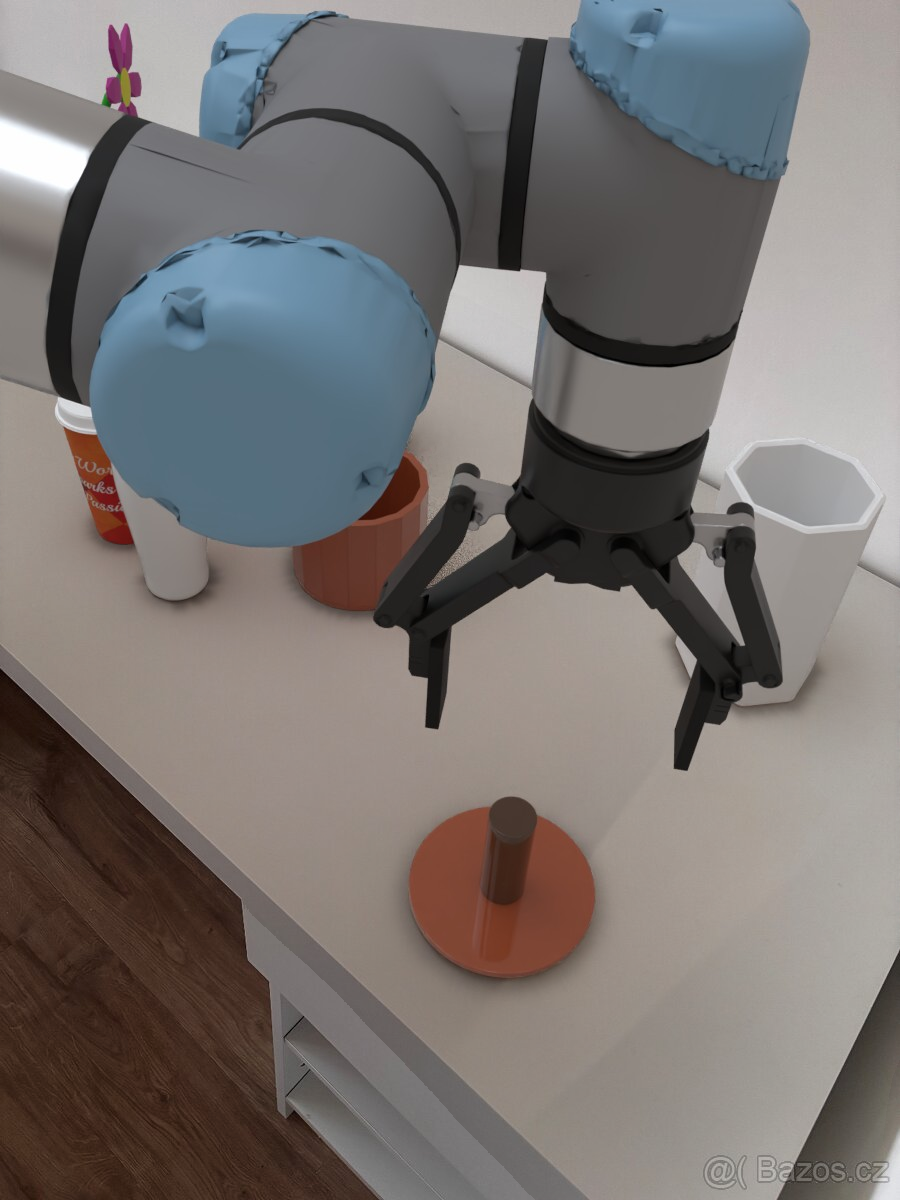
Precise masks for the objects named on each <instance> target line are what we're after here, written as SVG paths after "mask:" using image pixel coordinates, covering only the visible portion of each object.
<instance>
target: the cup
mask: <svg viewBox="0 0 900 1200" xmlns="http://www.w3.org/2000/svg"><path fill="white" fill-rule="evenodd" d="M886 500H887V496H886V494H885V493H884V492H883V490H882V489H881V488H880V486H879V485H878V484H877V482H876V481H875V479H874V478H873V476H872V475H871V473H870V472H869V471H868V469H867V468H866V466H865V465H864V464H863V462H862V461H861V460H860V459H859V458H857V457H856V456H852V455H850V454H848V453H845V452H842V451H840V450H838V449H835V448H833V447H830V446H827V445H825V444H822V443H820V442H817V441H815V440H812V439H811V438H807V437H792V438H776V439H775V438H774V439H760V440H752V441H749V442H748V443H747V444H746V445H745V446H744V447H743V448H742V449H741V451H739V453H738V454H737V455H736V456H735V458H734V459H733V460H732V461H731V462H730V463H729V464H728V465H727V467H726V468H725V470H724V474H723V477H722V482H721V483H720V487H719V491H718V494H717V497H716V501H715V504H714V508H713V512H712V513H713V514H726V513H727V510H728V508H729V507H730V506H731V505H732V504H734V503H737V502H745V503H748V504H750V505H751V506H752V507H753V509H754V520H755V538H756V551H755V557H754V559H755V563H756V566H757V569H758V572H759V576H760V579H761V582H762V585H763V589H764V592H765V595H766V598H767V602H768V605H769V608H770V611H771V615H772V618H773V621H774V624H775V628H776V631H777V634H778V638H779V641H780V648H781V660H782V675H783V682H782V684H781V685H780V686H778V687H776V688H764V687H762V686H760V685H759V684H758V682H750V683H746V684H743V685H742V686H743V696H742V698H741V699H740V700H739V701H737V702H734V703H733V704H735V705H737V706H741V707H748V706H749V707H750V706H757V705H758V706H760V705H767V704H777V703H788V702H792V701H794V699H795V697H796V696H797V694H798V693H799V691H800V689H801V688H802V687H803V685H804V683H805V682H806V680H807V678H808V677H809V675H810V673H812V670H813V668H814V666H815V664H816V661H817V659H818V656H819V654H820V652H821V649H822V647H823V645H824V643H825V640H826V639H827V636H828V633H829V631H830V629H831V627H832V624H833V622H834V620H835V617H836V616H837V613H838V610H839V609H840V606H841V604H842V601H843V599H844V597H845V595H846V592H847V590H848V589H849V586H850V583H851V581H852V579H853V576H854V574H855V571H856V570H857V567H858V565H859V562H860V560H861V558H862V555H863V553H864V551H865V548H866V546H867V544H868V542H869V540H870V537H871V536H872V533H873V530H874V528H875V526H876V524H877V521H878V519H879V517H880V514H881V511H882V510H883V507H884V505H885V503H886ZM692 581H693V583H694V584H695V585H696V587H697V588H698V589H699V591H700V592H701V593H702V595H703V596H704V597H705V599H706V600H707V601H708V603H709V604H710V605H711V607H712V608H713V609H714V611H715V612H716V613H717V615H718V616H719V617H720V619H721V620H722V621H723V623H724V624H725V625H726V627H727V628H728V629H729V631H730V632H731V633H732V635H733V636H734V637H735V639H736V640H737V641H738V643H739V644H740V646H744V645H745V643H744V641H743V638H742V635H741V632H740V629H739V626H738V623H737V620H736V617H735V614H734V611H733V608H732V605H731V602H730V599H729V596H728V593H727V590H726V586H725V582H724V567H720V568H719V567H716V566H715V565H714V564H713V561H712V560H711V559H709V558H708V556H707V554H706V550H705V548H704V547H703V546H702V549H701V553H700V556H699V559H698V562H697V567H696V570H695V573H694V576H693V580H692ZM675 646H676V648H677V651H678V653H679V655H680V658H681V660H682V662H683V664H684V666H685V669H686V672H687V674H688V676H689V679H691V677H692V674H693V671H694V668H695V665H696V661H697V659H696V658H695V657H694V655H693V654H692V653H691V652H690V650H689V649H688V648H687V647H686V645H685V644H684V643H683V641H682V640H681V639H680V638H679V636H678V635H677V634H676V638H675Z"/></svg>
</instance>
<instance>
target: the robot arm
mask: <svg viewBox="0 0 900 1200" xmlns="http://www.w3.org/2000/svg"><path fill="white" fill-rule="evenodd" d="M577 13H578V14H577V18H576V21H575V22H573V23H572V24H571V27H570V33H569V37H558V36H557V37H556V36H548V38H547V39H546V38H536V37H525V36H524V37H523V36H515V35H506V34H505V35H504V34H496V33H487V32H478V31H470V30H461V29H450V28H443V27H433V26H424V25H415V24H405V23H396V22H388V21H379V20H369V19H362V18H361V19H360V18H351V17H350V16H349V15H346V14H343V13H337V12H336V11H332V10H327V9H326V10H314V11H313V12H309V13H267V12H266V13H265V12H264V13H263V12H260V13H259V12H253V13H247V14H246V13H245V14H242V15H239V16H237V17H235V18H234V19H233V20H231V21H230V22H228V23H227V24H226V25H225V26H224V27H223V29H222V30H221V31H220V33H219V34H218V36H217V37H216V39H215V40H214V42H213V45H212V49H211V53H210V67H209V68H208V69H207V71H206V72H205V73H204V75H203V79H202V83H201V92H200V103H199V114H198V115H199V116H198V136H197V135H194V134H191V133H188V132H186V131H182V130H179V129H176V128H174V127H173V128H172V127H171V126H166V125H164V124H160V123H157V122H154V121H151V120H148V119H145V118H142V117H139V116H138V117H136V116H133V115H129V114H126V113H124V112H121V111H119V110H118V109H116V108H113V107H111V108H110V107H107V106H104V105H101V104H102V103H98V102H96V101H93V100H89V99H86V98H84V97H81V96H78V95H76V94H72V93H69V92H66V91H64V90H62V89H58V88H55V87H52V86H49V85H47V84H44V83H41V82H38V81H36V80H32V79H29V78H27V77H24V76H21V75H18V74H15V73H12V72H9V71H6V70H4V69H1V68H0V380H3V381H6V382H9V383H13V384H15V385H20V386H22V387H25V388H29V389H32V390H34V391H35V390H36V391H38V392H42V393H44V394H48V395H51V396H55V397H57V398H58V397H61V398H64V399H66V400H69V401H72V402H75V403H78V404H82V405H85V406H88V407H91V413H92V419H93V422H94V425H95V428H96V432H97V436H98V439H99V441H100V443H101V445H102V447H103V449H104V451H105V453H106V455H107V456H108V458H109V459H110V461H111V462H112V464H113V465H114V467H115V468H116V470H117V472H118V473H119V475H120V476H121V478H122V479H123V480H124V481H125V482H126V483H127V484H128V485H129V486H130V487H131V488H132V489H133V490H134V491H135V492H136V493H137V494H138V495H139V496H140V497H141V498H152V499H153V500H155V501H156V502H157V503H158V504H160V505H161V506H162V507H164V508H165V509H167V510H168V511H170V512H171V513H173V514H174V515H175V516H176V519H177V521H178V523H179V525H181V526H183V527H185V528H187V529H189V530H191V531H193V532H195V533H197V534H200V535H202V536H205V537H206V538H208V539H210V540H213V541H217V542H221V543H225V544H228V545H233V546H234V545H235V546H239V547H246V548H264V549H265V548H266V549H267V548H268V549H269V548H270V549H271V548H272V549H273V548H289V547H292V546H299V545H304V544H308V543H311V542H315V541H318V540H321V539H324V538H326V537H328V536H331V535H333V534H336V533H338V532H340V531H341V530H343V529H345V528H346V527H348V526H350V525H351V524H353V523H354V522H355V521H357V520H358V519H359V518H360V517H361V516H363V515H364V514H365V513H366V512H367V511H369V510H370V509H371V507H372V506H373V505H374V504H375V503H376V502H377V500H378V499H379V498H380V497H381V496H382V494H383V493H384V491H385V489H386V488H387V486H388V485H389V483H390V481H391V479H392V477H393V475H394V473H395V472H396V470H397V469H398V467H399V464H400V462H401V459H402V456H403V454H404V451H406V447H407V445H408V443H409V440H410V437H411V434H412V432H413V428H414V426H415V423H416V421H417V418H418V416H419V415H421V414H422V413H423V412H424V410H425V409H426V407H427V404H428V402H429V399H430V397H431V394H432V390H433V387H434V383H435V379H436V376H437V371H436V351H437V347H438V343H439V339H440V336H441V332H442V327H443V323H444V319H445V315H446V311H447V309H448V308H447V307H448V304H449V299H450V296H451V292H452V290H453V287H454V284H455V281H456V278H457V274H458V272H459V268H460V266H463V267H471V268H472V267H473V268H481V269H491V270H499V271H509V272H511V271H512V272H521V270H522V271H530V272H539V273H545V281H544V287H543V295H542V302H541V304H540V313H539V321H538V328H537V336H536V345H535V353H534V361H533V362H534V363H533V369H532V377H531V396H532V398H531V400H530V403H529V406H528V410H527V411H528V412H527V420H526V428H525V434H524V435H525V436H524V443H523V450H522V451H523V453H522V458H521V459H522V460H521V467H520V474H519V476H518V478H517V479H516V480H515V481H514V482H513V483H512V484H511V485H508V484H503V483H500V482H495V481H491V480H488V479H483V478H481V470H480V468H479V467H478V466H477V465H475V464H474V463H471V462H462V463H459V464H458V465H457V466H456V467H455V470H454V473H453V476H452V480H451V483H450V488H449V491H448V494H447V499H446V501H445V503H444V504H443V505H442V507H441V508H440V509H439V510H438V511H437V513H436V514H435V516H434V517H433V518H432V519H431V521H430V522H428V523H427V527H426V528H425V530H424V531H423V532H422V534H421V535H420V536H419V537H418V539H417V540H416V541H415V543H414V544H413V545H412V547H411V548H410V549H409V550H408V552H407V553H406V554H405V556H404V557H403V558H402V560H401V561H400V562H399V563H398V565H397V566H396V567H395V569H394V570H393V571H392V573H391V574H390V575H389V576H388V578H387V579H386V580H385V582H384V584H383V587H382V590H381V593H380V596H379V599H378V603H377V606H376V609H374V613H373V616H372V620H373V622H374V623H375V625H377V626H378V627H379V628H383V629H391V628H393V627H395V626H396V627H398V628H400V629H402V630H404V631H405V633H406V634H407V635H408V660H407V661H408V662H407V664H408V665H407V670H408V672H409V674H410V675H411V676H412V677H418V678H424V679H427V684H426V701H425V702H426V703H425V719H424V728H425V729H432V730H437V731H438V730H439V729H440V724H441V720H442V716H443V711H444V707H445V703H446V702H445V701H446V698H447V694H448V681H449V669H450V655H451V654H450V653H451V642H452V641H451V640H452V631H453V626H455V625H457V623H459V622H461V621H463V620H464V619H465V618H467V617H468V616H470V615H471V614H473V613H475V612H477V611H478V610H481V608H483V607H485V606H486V605H487V604H489V603H491V602H492V601H494V600H495V599H497V598H499V597H500V596H502V595H503V594H505V593H506V592H509V591H510V590H511V589H513V588H516V589H517V590H521V589H523V588H525V587H527V586H528V585H529V584H531V583H533V582H534V581H536V580H537V579H539V578H541V577H542V576H544V575H546V574H547V575H549V576H551V577H554V578H553V582H554V583H561V584H566V585H567V584H568V585H580V584H581V585H582V584H587V585H591V586H592V587H593V586H594V587H596V588H600V589H601V590H606V591H611V592H619V593H620V592H621V588H626V587H632V588H633V589H634V590H635V592H636V593H637V594H638V595H639V596H640V598H641V599H642V600H643V601H644V603H645V604H646V605H647V606H648V608H649V609H650V610H653V611H654V610H657V611H658V613H659V614H660V615H661V617H663V619H664V620H665V622H666V623H667V624H668V625H669V626H670V628H671V629H672V630H673V631H674V633H675V634H676V636H677V635H678V636H679V638H680V639H681V640H682V641H683V643H684V644H685V645H686V647H687V648H688V649H689V650H690V652H691V653H692V654H693V655H694V657H695V658H696V659H697V661H696V665H695V668H694V671H693V674H692V677H691V678H690V680H689V683H688V686H687V689H686V692H685V695H684V699H683V701H682V705H681V709H680V712H679V714H678V717H677V720H676V724H675V727H674V730H673V733H674V734H673V770H678V771H684V772H688V771H689V768H690V765H691V763H692V759H693V757H694V755H695V751H696V748H697V745H698V743H699V740H700V737H701V734H702V731H703V728H704V725H705V724H711V725H716V726H722V724H723V723H725V722H726V720H727V718H728V716H729V713H730V711H731V707H732V705H733V704H735V703H734V702H737V701H739V700H740V699H741V698H742V696H743V686H742V685H743V684H746V683H750V682H758V684H759V685H760V686H762V687H764V688H776V687H778V686H780V685H781V684H782V682H783V675H782V660H781V648H780V641H779V638H778V634H777V631H776V628H775V624H774V621H773V618H772V615H771V611H770V608H769V605H768V602H767V598H766V595H765V592H764V589H763V585H762V582H761V579H760V576H759V572H758V569H757V566H756V563H755V559H754V557H755V551H756V538H755V520H754V509H753V507H752V506H751V505H750V504H748V503H745V502H737V503H734V504H732V505H731V506H730V507H729V508H728V510H727V513H726V514H713V512H712V513H709V512H695V511H694V508H693V506H692V502H693V498H694V494H695V491H696V488H697V485H698V484H697V483H698V481H699V476H700V474H701V473H700V472H701V469H702V465H703V462H704V458H705V454H706V452H707V448H708V444H709V439H710V434H711V433H710V427H711V426H713V423H714V420H715V418H716V416H717V412H718V409H719V404H720V401H721V400H720V399H721V395H722V392H723V389H724V386H725V385H724V384H725V382H726V378H727V377H726V376H727V373H728V369H729V365H730V362H731V357H732V354H733V349H734V346H735V343H736V339H737V335H738V331H739V326H740V321H741V319H742V315H743V312H744V307H745V305H746V301H747V297H748V294H749V290H750V287H751V283H752V279H753V276H754V272H755V269H756V265H757V262H758V259H759V256H760V251H761V248H762V244H763V241H764V238H765V235H766V231H767V227H768V223H769V220H770V217H771V213H772V211H773V207H774V204H775V200H776V196H777V193H778V189H779V187H780V182H781V179H782V177H783V176H785V175H786V172H787V170H788V166H789V164H790V160H789V159H788V151H789V148H790V147H789V146H790V143H791V138H792V133H793V127H794V124H795V119H796V113H797V109H798V104H799V100H800V94H801V90H802V86H803V82H804V78H805V77H804V76H805V73H806V68H807V64H808V60H809V54H810V46H811V30H810V29H809V27H808V25H807V23H806V21H805V20H804V17H803V14H802V13H801V10H800V8H799V7H798V6H797V4H796V3H794V2H793V0H580V3H579V8H578V12H577ZM496 515H501V516H503V515H504V517H505V520H506V523H507V524H508V526H509V527H510V528H509V529H508V531H507V532H506V533H505V535H504V536H503V537H502V538H501V539H500V540H498V541H497V542H495V543H493V545H491V546H490V547H488V548H487V549H485V550H484V551H481V553H479V554H478V555H476V556H475V557H472V558H471V559H470V560H468V562H466V563H464V564H463V565H461V566H460V567H459V568H457V569H455V570H454V571H452V572H451V573H450V574H448V575H446V576H445V577H444V578H442V579H441V580H439V581H438V582H436V583H435V584H433V585H432V586H430V587H429V588H427V587H428V586H429V585H430V584H431V582H432V581H433V580H434V579H435V578H436V576H437V575H438V574H439V573H440V571H441V570H442V569H443V567H445V566H446V564H448V561H449V560H450V559H451V558H452V557H453V555H454V554H455V553H456V552H457V551H458V549H459V548H460V546H461V545H462V544H463V542H464V541H465V538H466V536H467V532H468V530H469V531H471V532H477V531H478V530H479V529H480V528H481V526H484V525H486V524H487V522H488V521H489V520H490V518H492V517H493V516H496ZM693 543H695V544H699V545H701V547H702V548H703V547H704V548H705V550H706V554H707V556H708V558H709V559H711V560H712V561H713V564H714V565H715V566H716V567H719V568H720V567H724V582H725V586H726V590H727V593H728V596H729V599H730V602H731V605H732V608H733V611H734V614H735V617H736V620H737V623H738V626H739V629H740V632H741V635H742V638H743V641H744V643H745V645H744V646H740V644H739V643H738V641H737V640H736V639H735V637H734V636H733V635H732V633H731V632H730V631H729V629H728V628H727V627H726V625H725V624H724V623H723V621H722V620H721V619H720V617H719V616H718V615H717V613H716V612H715V611H714V609H713V608H712V607H711V605H710V604H709V603H708V601H707V600H706V599H705V597H704V596H703V595H702V593H701V592H700V591H699V589H698V588H697V587H696V585H695V584H694V583H693V580H692V579H691V577H690V576H689V575H688V573H687V572H686V570H685V569H684V568H683V566H682V565H681V563H680V560H679V557H678V556H680V555H681V554H683V553H684V552H685V551H687V550H688V549H689V548H690V547H691V546H692V544H693Z"/></svg>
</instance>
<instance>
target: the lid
mask: <svg viewBox="0 0 900 1200" xmlns="http://www.w3.org/2000/svg"><path fill="white" fill-rule="evenodd" d="M424 838H425V839H423V841H422V842H421V843H420V846H419V847H418V849H417V850H416V853H415V855H414V857H413V859H412V863H411V866H410V869H409V875H408V876H409V877H408V898H409V899H408V900H409V905H410V909H411V912H412V916H413V918H414V921H415V922H416V923H415V924H416V925H417V927H418V929H419V930H420V932H421V933H422V935H423V936H424V938H425V939H426V940H427V942H429V944H430V945H431V946H432V948H433V949H435V950H436V951H437V952H438V953H439V954H440V955H441V956H442V957H444V958H446V959H447V960H448V961H450V962H451V963H453V964H455V965H456V966H458V967H461V968H462V969H464V970H466V971H469V972H472V973H475V974H478V975H482V976H485V977H486V976H487V977H491V978H501V979H509V978H521V977H528V976H532V975H536V974H538V973H542V972H544V971H546V970H549V969H551V968H553V967H555V966H556V965H558V964H559V963H561V962H563V961H564V960H565V959H566V958H567V957H569V956H570V955H571V954H572V953H573V952H574V951H575V949H576V948H577V947H578V946H579V945H580V943H581V942H582V941H583V939H584V938H585V936H586V934H587V932H588V930H589V928H590V925H591V922H592V918H593V915H594V911H595V904H596V887H595V881H594V876H593V873H592V869H591V867H590V864H589V863H588V861H587V858H586V855H584V853H583V851H582V850H581V848H580V847H579V845H578V844H577V843H576V842H575V840H574V839H572V838H571V836H570V835H569V834H567V833H566V832H565V830H563V829H562V828H560V827H559V826H558V825H557V824H555V823H553V822H552V821H550V820H548V819H546V818H545V817H543V816H541V815H538V814H537V811H536V809H535V807H534V806H533V805H532V803H530V802H529V801H527V800H526V799H525V798H521V797H519V796H513V795H512V796H511V795H510V796H504V797H501V798H499V799H497V800H495V802H493V803H492V805H491V806H484V807H483V806H481V807H477V808H473V809H469V810H465V811H462V812H459V813H456V814H455V815H453V816H451V817H449V818H448V819H446V820H445V821H443V822H441V823H440V824H439V825H438V826H436V827H435V828H434V829H433V830H431V831H430V832H429V833H428V834H427V836H426V837H424Z"/></svg>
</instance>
